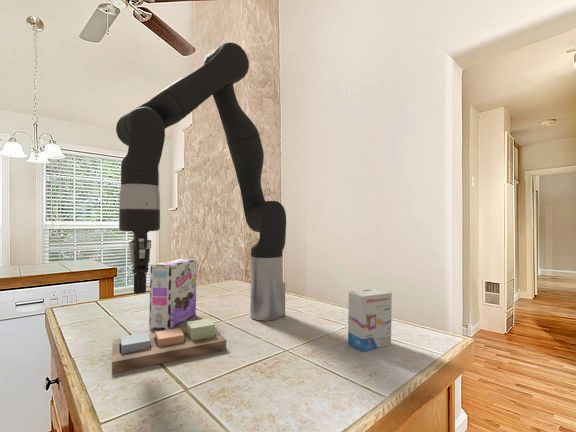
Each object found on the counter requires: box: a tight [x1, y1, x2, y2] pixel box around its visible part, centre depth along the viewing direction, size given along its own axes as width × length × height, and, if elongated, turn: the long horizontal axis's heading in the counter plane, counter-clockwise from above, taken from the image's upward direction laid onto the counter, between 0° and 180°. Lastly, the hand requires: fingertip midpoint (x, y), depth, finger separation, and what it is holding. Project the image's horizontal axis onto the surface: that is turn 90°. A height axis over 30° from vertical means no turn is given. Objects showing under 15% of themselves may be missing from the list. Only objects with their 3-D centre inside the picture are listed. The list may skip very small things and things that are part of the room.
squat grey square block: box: [120, 332, 150, 354], centre depth 61 cm, size 5×5×3 cm
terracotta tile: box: [154, 327, 184, 347], centre depth 65 cm, size 5×5×3 cm
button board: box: [111, 327, 227, 374], centre depth 65 cm, size 21×12×2 cm, turn 119°
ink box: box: [347, 287, 393, 353], centre depth 67 cm, size 9×5×12 cm, turn 117°
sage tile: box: [186, 318, 216, 341], centre depth 68 cm, size 5×5×3 cm
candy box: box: [148, 258, 197, 331], centre depth 83 cm, size 14×6×16 cm, turn 168°
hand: (139, 292), depth 62 cm, fingers closed
